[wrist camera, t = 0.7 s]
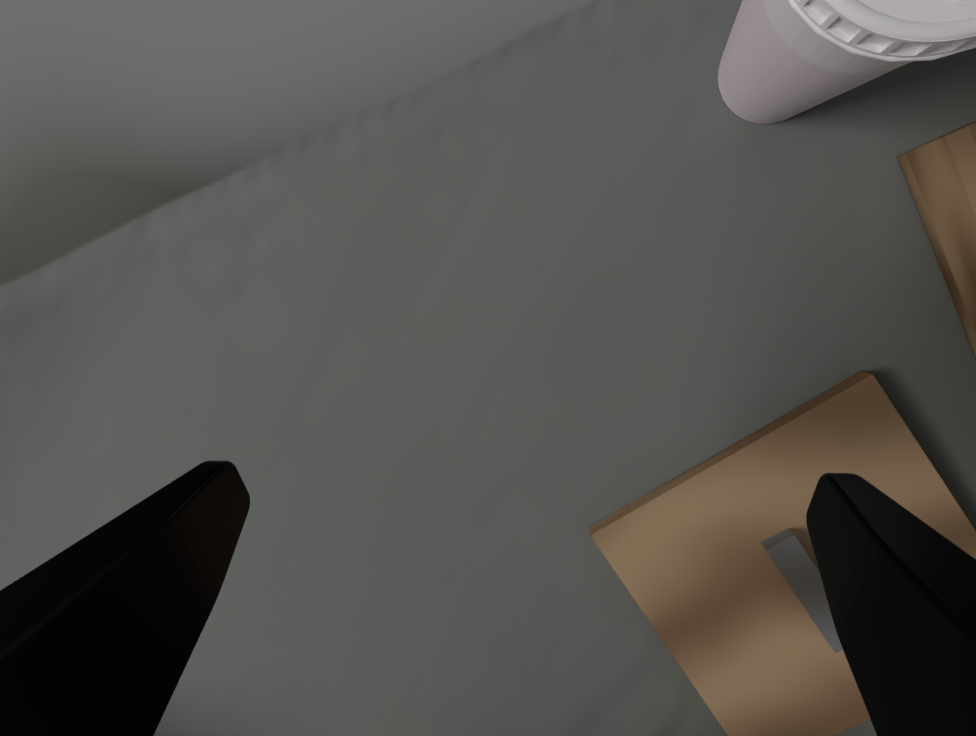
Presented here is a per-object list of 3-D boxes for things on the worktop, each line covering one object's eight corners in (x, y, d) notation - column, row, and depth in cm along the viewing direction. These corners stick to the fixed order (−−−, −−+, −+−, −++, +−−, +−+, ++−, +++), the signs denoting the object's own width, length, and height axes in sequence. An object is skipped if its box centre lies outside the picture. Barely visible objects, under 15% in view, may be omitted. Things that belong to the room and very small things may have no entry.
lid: (1030, 628, 21) (1063, 652, 19) (745, 755, 23) (757, 783, 22) (861, 371, 20) (882, 376, 19) (589, 527, 23) (590, 542, 22)
